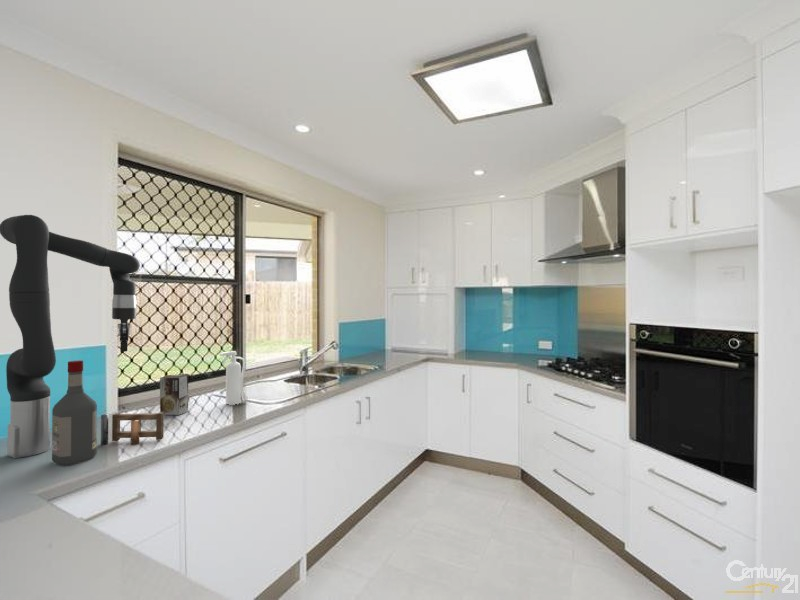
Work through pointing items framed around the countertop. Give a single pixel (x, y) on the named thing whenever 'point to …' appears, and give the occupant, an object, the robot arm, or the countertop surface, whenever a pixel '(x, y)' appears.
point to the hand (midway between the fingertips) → (123, 351)
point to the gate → (143, 416)
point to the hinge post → (104, 429)
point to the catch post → (135, 432)
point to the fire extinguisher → (234, 379)
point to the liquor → (74, 422)
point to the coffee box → (174, 394)
